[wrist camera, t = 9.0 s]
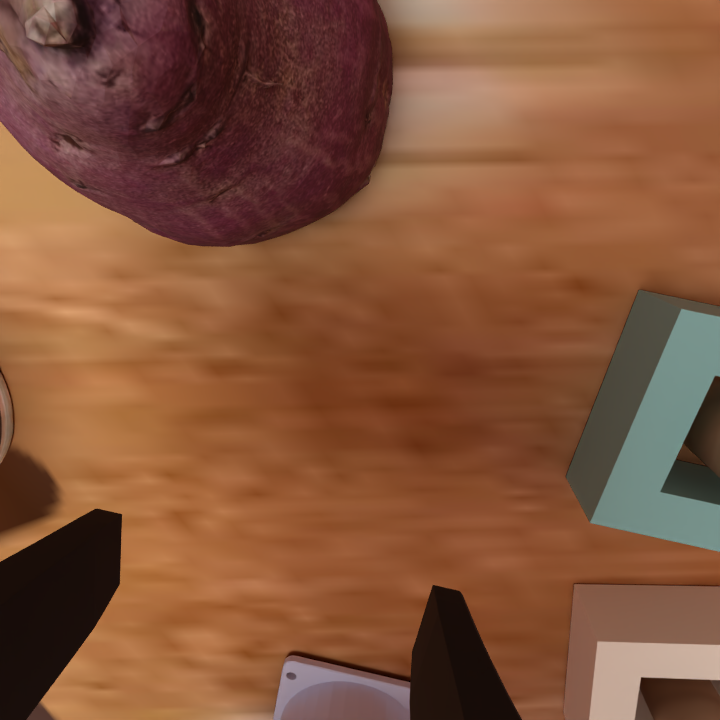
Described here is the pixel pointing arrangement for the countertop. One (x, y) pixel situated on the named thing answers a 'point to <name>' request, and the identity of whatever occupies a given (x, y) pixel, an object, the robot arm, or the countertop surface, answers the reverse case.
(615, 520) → the teal square frame block
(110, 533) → the robot arm
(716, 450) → the maple dowel
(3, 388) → the coffee can
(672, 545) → the countertop surface
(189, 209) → the vegetable
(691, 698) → the walnut dowel
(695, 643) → the white peg holder
